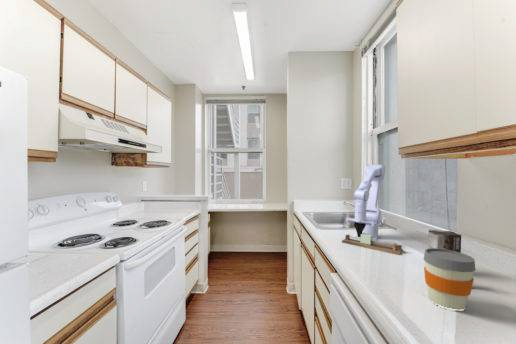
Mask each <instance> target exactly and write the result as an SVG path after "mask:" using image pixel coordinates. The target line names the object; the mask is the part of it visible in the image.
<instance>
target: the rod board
mask: <svg viewBox="0 0 516 344" xmlns="http://www.w3.org/2000/svg"><path fill="white" fill-rule="evenodd" d="M360 239H361V237H358V236H351V235H350V234H345V237H344V239H342V240H341V243H342V244H343V243H345V244H348V245H352V246H355V247H357V246H358V247H362V248H367V249H371V250H375V251H379V252H383V253H389V254H392V255H393V254H394V255H398V256H401V254H402V252H403V251H404V248H402V246H403V245H401V244H397V243H396V242H394V243H393V244H391V243H386V242H382V241H377V240H373V241H372V240H371V243H372V244H371V245H369V244H364V243H360Z"/></svg>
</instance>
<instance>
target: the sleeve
mask: <svg viewBox="0 0 516 344" xmlns="http://www.w3.org/2000/svg"><path fill="white" fill-rule="evenodd" d="M360 238H361V239H360V243H364V244H369V245H371V244H372V243H371V240H372V241H374V240H373V235H371V234H366V233H364V232H362V234H361V237H360Z"/></svg>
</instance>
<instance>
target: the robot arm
mask: <svg viewBox="0 0 516 344" xmlns="http://www.w3.org/2000/svg"><path fill="white" fill-rule="evenodd" d="M364 171H365V176H364V180H363V179H362V180H361V182H360V184H359V186H358V188H357V189H356V190H354V192H353V202H354V218H353V217H346V218H345V222H348V223H349V222H350V223H354V224H353V226H354V229H355V231H356V235H357V236H356V237H357V238H361V234H362V233H366V234H371V235H373V241H377V240H378V239H379V238H381V236H380V235H379V229H380V228H379V224H380V223H381V221H382V210H381V209H379V207H378V203H379V201H378V200H379V195H380V194H379V193H380V188H381V182H382V180H384V179H385V175H386V174H385V173H386V166H385V165H384V164H369V163H368V164H366V166H365V169H364ZM367 201H368V202H367ZM367 203H368V204H367ZM363 231H364V232H363Z"/></svg>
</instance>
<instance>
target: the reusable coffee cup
mask: <svg viewBox="0 0 516 344" xmlns="http://www.w3.org/2000/svg"><path fill="white" fill-rule="evenodd" d="M423 260H424V265H425V266H424V268H423V272H424V281H425V284H426V287H427V297H428V300H429V299H430V300H431V301H433V302H434V303H436V304H439V305H441V306H444V307H447V308H452V309H458V310H459V309H464V308H465V309H466V306H467V302H468V298H469V296H470V295H471V292H472V289H473V284H474V281H475V279H474V277H473V275H474V272H475V271H476V262H475V260H476V259H475V258H474V257H472V256H470V255H468V254H465V253H463V252H461V253H460V252H456V251H451V250H446V249H438V248H429V249H428V248H426V249H424V255H423ZM430 300H429V301H430Z"/></svg>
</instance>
